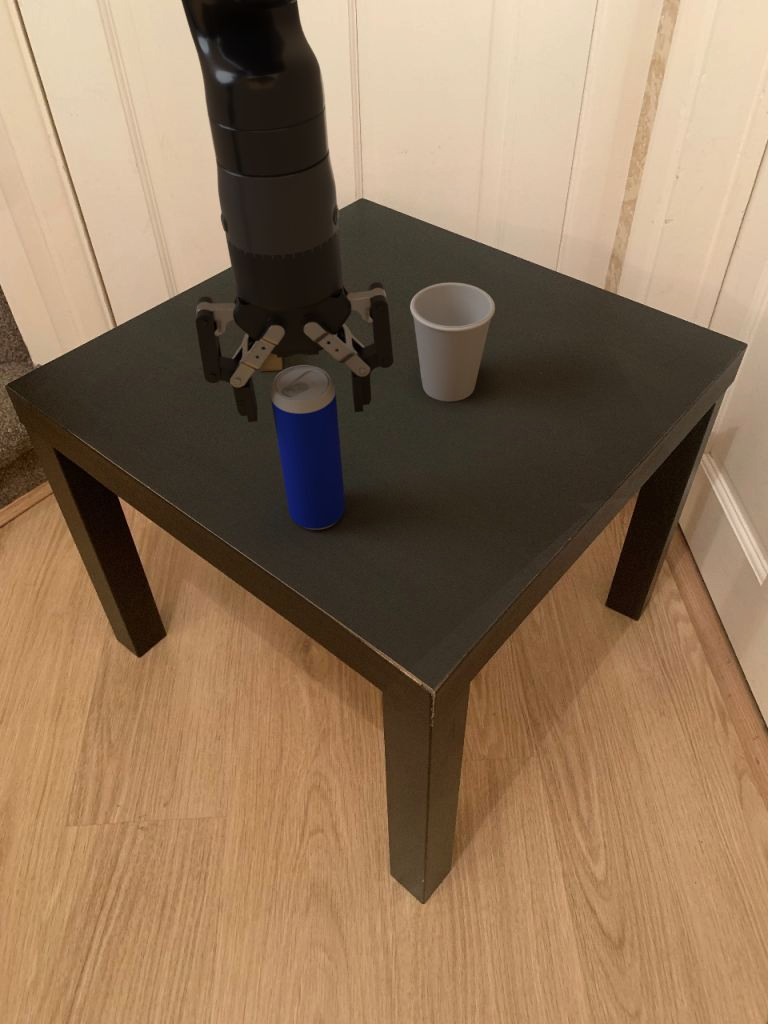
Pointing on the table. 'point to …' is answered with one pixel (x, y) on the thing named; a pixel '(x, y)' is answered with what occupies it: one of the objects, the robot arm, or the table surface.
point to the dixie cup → (451, 337)
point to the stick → (272, 363)
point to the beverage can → (309, 445)
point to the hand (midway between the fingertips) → (305, 410)
